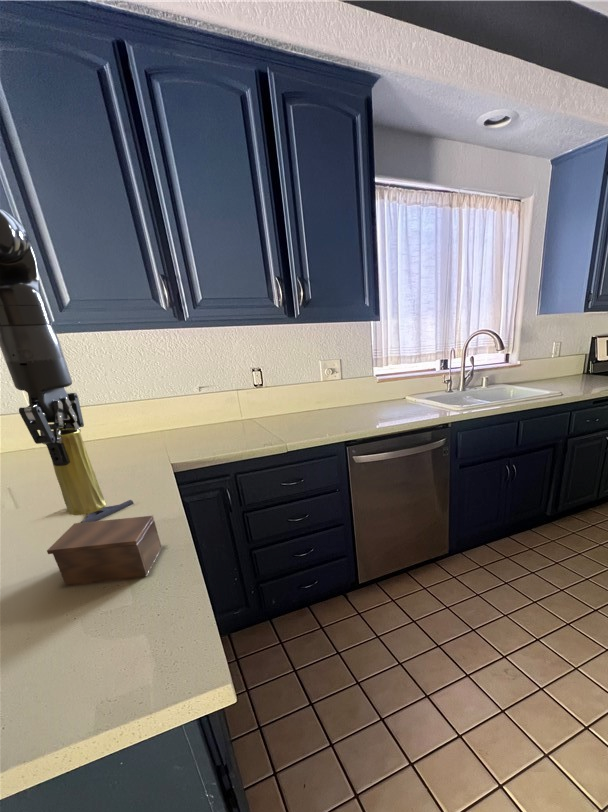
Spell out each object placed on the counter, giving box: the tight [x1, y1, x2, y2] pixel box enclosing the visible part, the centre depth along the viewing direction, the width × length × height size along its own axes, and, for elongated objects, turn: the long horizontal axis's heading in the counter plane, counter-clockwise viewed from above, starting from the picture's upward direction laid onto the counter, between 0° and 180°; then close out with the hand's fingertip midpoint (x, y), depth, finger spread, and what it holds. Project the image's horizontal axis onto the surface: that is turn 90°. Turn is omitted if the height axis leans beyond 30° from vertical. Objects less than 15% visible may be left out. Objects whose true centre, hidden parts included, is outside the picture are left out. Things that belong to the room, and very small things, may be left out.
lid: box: [46, 515, 155, 555], centre depth 86 cm, size 15×12×1 cm
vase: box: [51, 428, 107, 516], centre depth 75 cm, size 6×6×14 cm
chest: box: [52, 519, 163, 587], centre depth 88 cm, size 15×12×8 cm
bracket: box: [79, 499, 134, 523], centre depth 114 cm, size 14×15×3 cm
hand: (70, 459), depth 74 cm, fingers closed on vase, 5 cm apart
